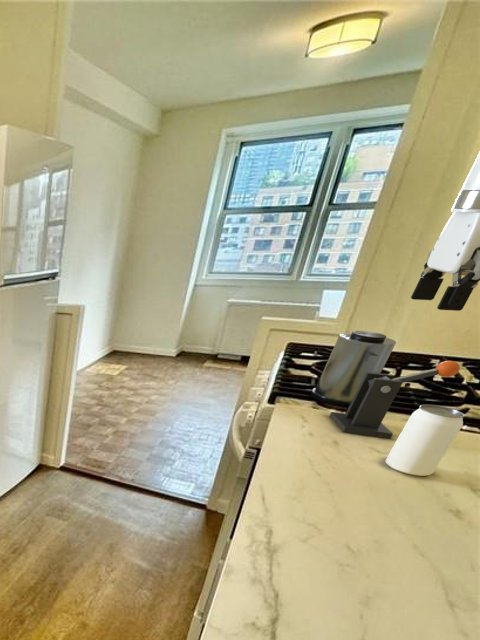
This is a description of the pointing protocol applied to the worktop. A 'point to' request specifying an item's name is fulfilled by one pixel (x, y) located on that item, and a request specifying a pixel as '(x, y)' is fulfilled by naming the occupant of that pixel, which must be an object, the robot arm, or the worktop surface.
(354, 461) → the worktop surface
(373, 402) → the switch bracket
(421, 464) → the can
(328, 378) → the kettle
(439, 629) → the worktop surface
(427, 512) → the worktop surface
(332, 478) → the worktop surface
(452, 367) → the switch
